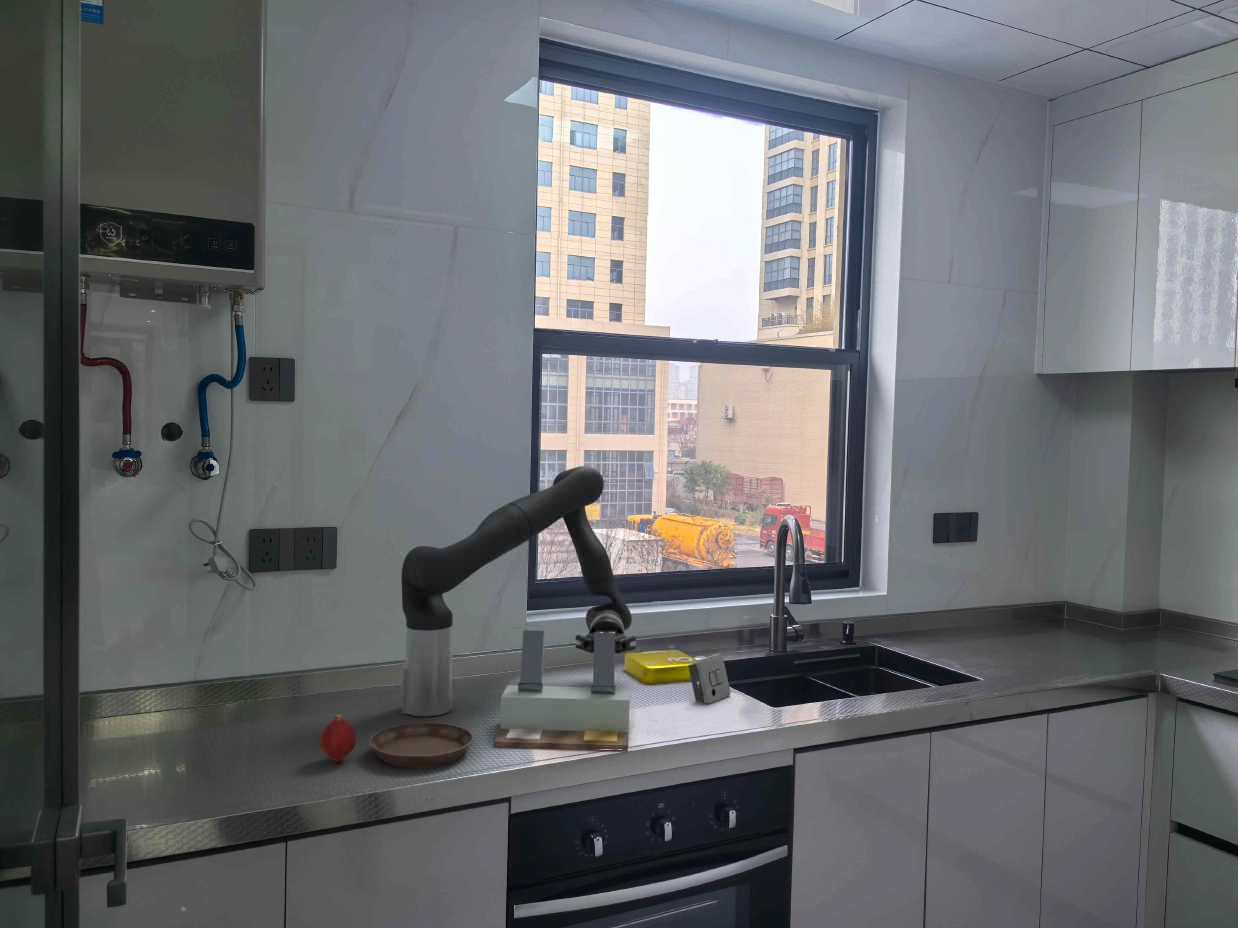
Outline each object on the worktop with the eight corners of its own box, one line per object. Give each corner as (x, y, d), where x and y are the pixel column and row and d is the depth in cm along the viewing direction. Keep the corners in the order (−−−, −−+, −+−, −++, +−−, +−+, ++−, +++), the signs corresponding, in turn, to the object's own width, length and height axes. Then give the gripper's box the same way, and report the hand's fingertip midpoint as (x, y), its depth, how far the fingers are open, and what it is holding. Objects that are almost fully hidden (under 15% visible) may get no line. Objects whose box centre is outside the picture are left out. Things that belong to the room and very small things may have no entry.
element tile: (677, 666, 215) (677, 647, 215) (704, 681, 201) (704, 661, 201) (621, 670, 209) (622, 651, 209) (645, 686, 195) (645, 665, 195)
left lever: (517, 690, 163) (521, 630, 167) (518, 690, 164) (522, 631, 168) (541, 691, 163) (545, 630, 166) (542, 691, 164) (546, 631, 168)
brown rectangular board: (493, 746, 153) (494, 738, 153) (508, 718, 169) (508, 711, 169) (627, 750, 152) (627, 742, 152) (629, 722, 168) (629, 715, 168)
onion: (325, 755, 148) (325, 709, 147) (359, 754, 148) (359, 708, 148) (316, 767, 142) (316, 719, 142) (351, 767, 142) (352, 719, 142)
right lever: (591, 693, 163) (592, 632, 164) (591, 692, 164) (593, 631, 166) (615, 693, 162) (616, 632, 164) (615, 692, 164) (616, 632, 166)
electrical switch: (708, 705, 181) (705, 661, 181) (688, 702, 184) (685, 659, 184) (731, 696, 188) (728, 653, 188) (711, 693, 191) (709, 652, 192)
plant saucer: (462, 733, 161) (462, 717, 161) (482, 766, 144) (482, 748, 144) (364, 743, 154) (365, 726, 154) (374, 779, 138) (374, 760, 138)
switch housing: (500, 728, 160) (501, 696, 160) (507, 715, 168) (507, 684, 168) (628, 732, 159) (629, 700, 159) (629, 718, 167) (629, 688, 167)
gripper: (576, 615, 182) (570, 631, 165) (638, 616, 182) (639, 633, 165) (575, 650, 182) (569, 670, 165) (637, 651, 182) (638, 672, 165)
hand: (604, 651), depth 165 cm, fingers closed
